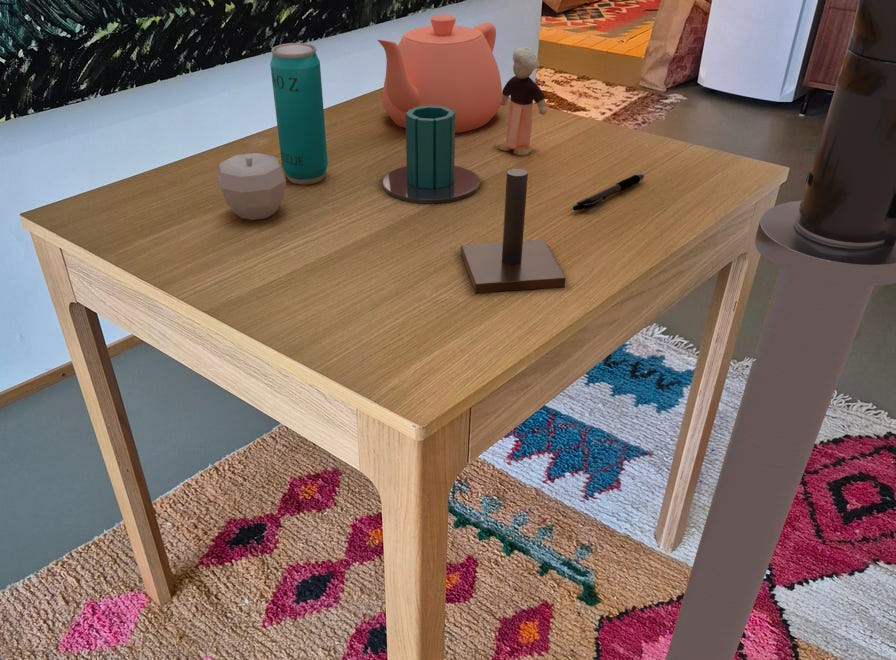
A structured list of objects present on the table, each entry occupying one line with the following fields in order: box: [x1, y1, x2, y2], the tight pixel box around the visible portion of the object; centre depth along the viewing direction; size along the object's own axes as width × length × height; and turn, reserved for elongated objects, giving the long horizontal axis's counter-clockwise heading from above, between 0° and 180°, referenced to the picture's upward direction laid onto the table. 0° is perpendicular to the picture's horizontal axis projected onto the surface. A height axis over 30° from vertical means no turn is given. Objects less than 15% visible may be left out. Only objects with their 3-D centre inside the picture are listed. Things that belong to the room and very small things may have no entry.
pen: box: [572, 173, 645, 212], centre depth 99 cm, size 14×2×1 cm, turn 135°
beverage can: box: [269, 42, 329, 185], centre depth 101 cm, size 6×6×15 cm
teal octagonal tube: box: [405, 105, 456, 189], centre depth 101 cm, size 6×6×8 cm
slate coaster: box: [382, 165, 481, 204], centre depth 103 cm, size 12×12×1 cm
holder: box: [460, 168, 567, 294], centre depth 82 cm, size 9×9×10 cm
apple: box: [217, 152, 287, 221], centre depth 95 cm, size 8×8×7 cm
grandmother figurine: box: [498, 46, 548, 156], centre depth 108 cm, size 8×4×13 cm, turn 55°
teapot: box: [377, 14, 503, 134], centre depth 118 cm, size 25×17×13 cm
